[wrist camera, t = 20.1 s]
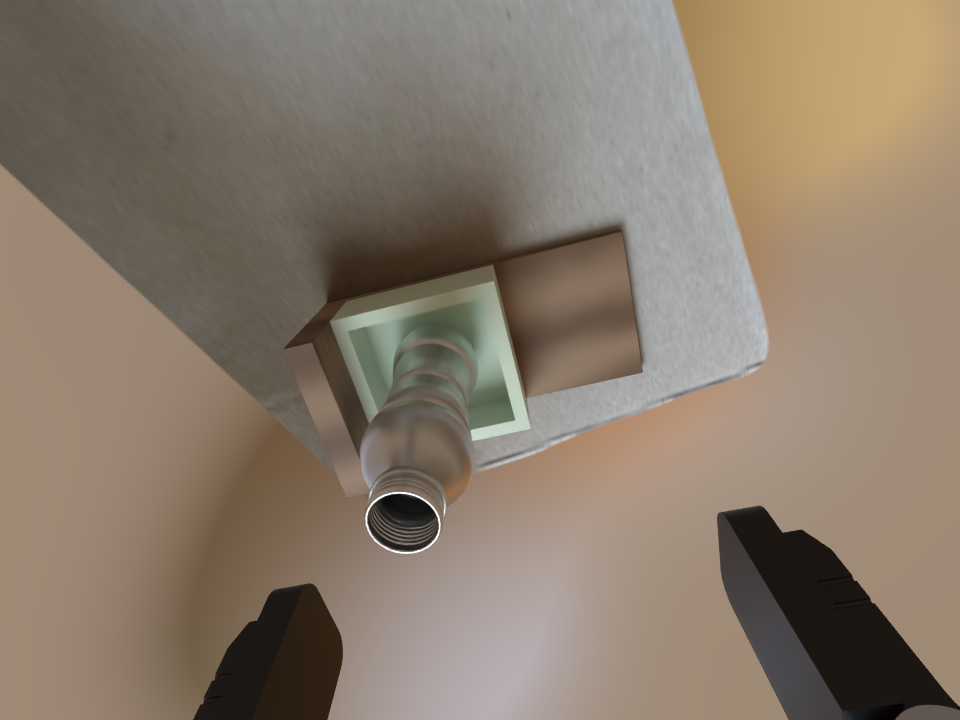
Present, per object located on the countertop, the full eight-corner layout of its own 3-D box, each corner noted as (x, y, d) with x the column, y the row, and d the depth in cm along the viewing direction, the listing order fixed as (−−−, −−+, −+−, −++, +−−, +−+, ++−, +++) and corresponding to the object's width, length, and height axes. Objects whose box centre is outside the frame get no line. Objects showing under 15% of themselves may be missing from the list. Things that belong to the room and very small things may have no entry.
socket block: (346, 301, 42) (329, 321, 37) (492, 264, 41) (493, 280, 36) (393, 427, 46) (383, 460, 42) (526, 398, 45) (530, 428, 41)
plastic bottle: (456, 302, 41) (432, 440, 22) (492, 374, 43) (496, 552, 25) (383, 334, 42) (303, 491, 24) (422, 403, 44) (377, 594, 26)
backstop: (326, 303, 43) (282, 349, 34) (619, 230, 40) (658, 258, 31) (374, 427, 47) (347, 497, 38) (640, 368, 45) (679, 428, 36)
